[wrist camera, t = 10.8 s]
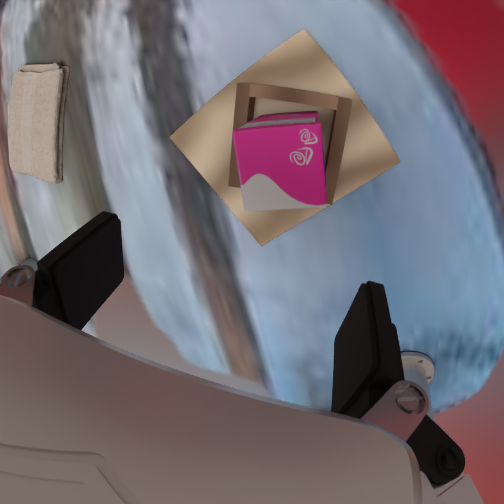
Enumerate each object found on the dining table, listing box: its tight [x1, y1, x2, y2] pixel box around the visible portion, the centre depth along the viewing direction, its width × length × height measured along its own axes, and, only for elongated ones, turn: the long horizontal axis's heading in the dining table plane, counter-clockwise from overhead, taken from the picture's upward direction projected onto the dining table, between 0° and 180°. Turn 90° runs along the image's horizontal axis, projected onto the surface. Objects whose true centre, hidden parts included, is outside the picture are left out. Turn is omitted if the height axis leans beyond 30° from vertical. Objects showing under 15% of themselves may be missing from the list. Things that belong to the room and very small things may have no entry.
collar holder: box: [170, 29, 400, 246], centre depth 28 cm, size 16×18×4 cm
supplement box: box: [232, 111, 327, 212], centre depth 24 cm, size 6×6×12 cm
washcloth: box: [7, 62, 70, 184], centre depth 32 cm, size 12×18×3 cm, turn 166°
